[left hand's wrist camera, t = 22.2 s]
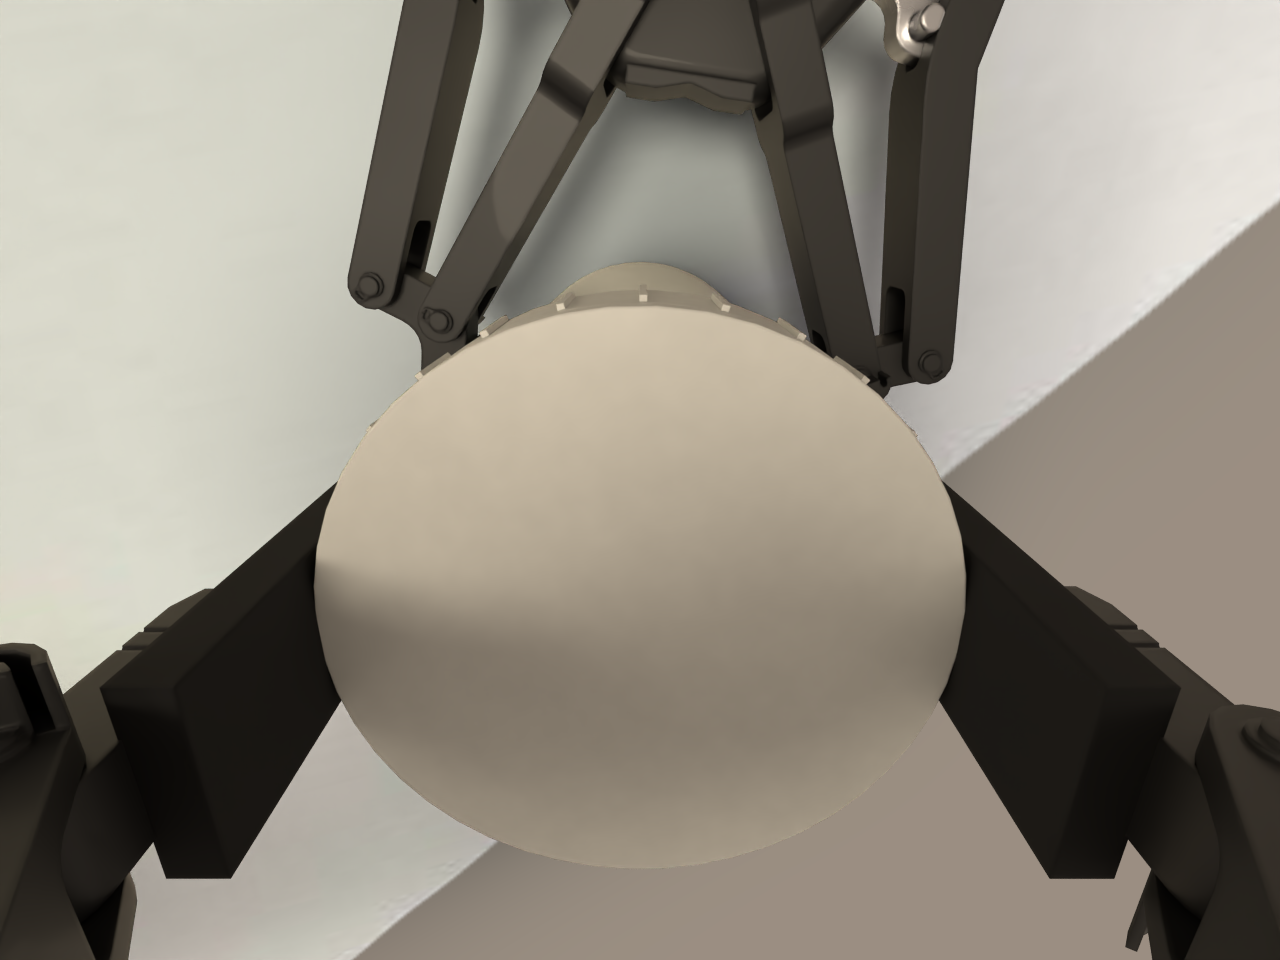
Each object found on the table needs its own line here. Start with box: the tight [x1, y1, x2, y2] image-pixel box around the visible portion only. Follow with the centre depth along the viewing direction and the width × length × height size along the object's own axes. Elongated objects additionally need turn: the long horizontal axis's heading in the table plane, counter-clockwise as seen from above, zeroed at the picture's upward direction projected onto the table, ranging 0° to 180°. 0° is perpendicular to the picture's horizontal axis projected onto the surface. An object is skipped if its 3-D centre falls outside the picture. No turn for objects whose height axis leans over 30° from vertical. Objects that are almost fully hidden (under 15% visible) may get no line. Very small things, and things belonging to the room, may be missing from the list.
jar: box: [550, 262, 729, 304], centre depth 18 cm, size 9×9×16 cm
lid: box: [314, 285, 966, 869], centre depth 11 cm, size 10×10×2 cm
